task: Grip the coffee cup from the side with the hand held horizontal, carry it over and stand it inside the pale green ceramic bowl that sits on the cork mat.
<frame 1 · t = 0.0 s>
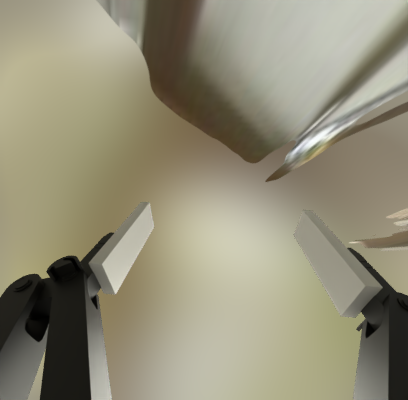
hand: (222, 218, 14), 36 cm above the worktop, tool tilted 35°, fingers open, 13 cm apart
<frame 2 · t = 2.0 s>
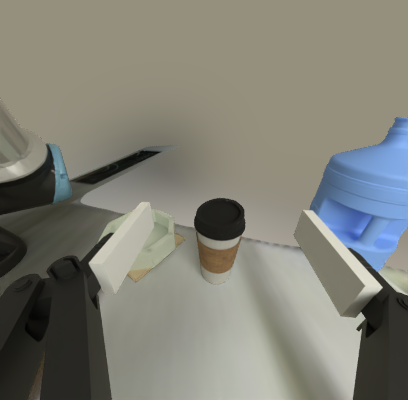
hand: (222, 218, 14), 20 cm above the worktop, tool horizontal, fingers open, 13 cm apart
water jug: (334, 248, 39), on the worktop
bowl: (143, 244, 39), on the worktop
coffee cup: (215, 271, 33), on the worktop
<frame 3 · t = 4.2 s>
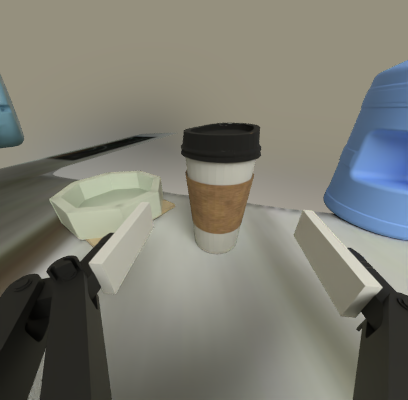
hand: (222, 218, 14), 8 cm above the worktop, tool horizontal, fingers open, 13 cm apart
water jug: (372, 214, 29), on the worktop
bowl: (120, 211, 29), on the worktop
coffee cup: (215, 239, 24), on the worktop
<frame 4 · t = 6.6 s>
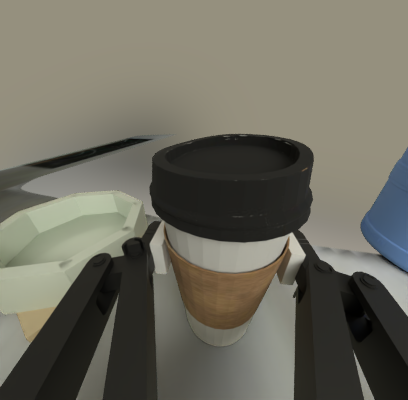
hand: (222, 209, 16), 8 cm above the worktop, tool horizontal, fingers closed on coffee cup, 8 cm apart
bowl: (86, 250, 21), on the worktop
coffee cup: (217, 308, 15), on the worktop, touching gripper
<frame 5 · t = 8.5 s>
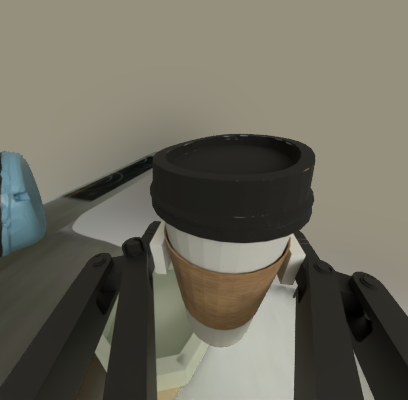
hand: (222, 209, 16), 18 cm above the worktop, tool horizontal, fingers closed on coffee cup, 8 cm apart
bowl: (163, 315, 24), on the worktop
coffee cup: (217, 309, 15), point 10 cm above the worktop, touching gripper
when the fingers open (11 cm above the worktop, at t = 10.7 s): coffee cup drops 2 cm, resting on bowl.
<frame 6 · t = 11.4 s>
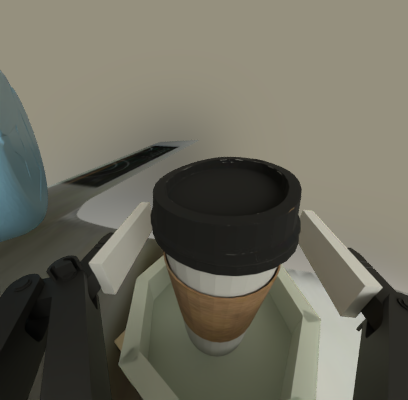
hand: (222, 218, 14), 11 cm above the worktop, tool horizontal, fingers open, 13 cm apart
bowl: (216, 324, 17), on the worktop
coffee cup: (214, 318, 16), point 1 cm above the worktop, touching bowl
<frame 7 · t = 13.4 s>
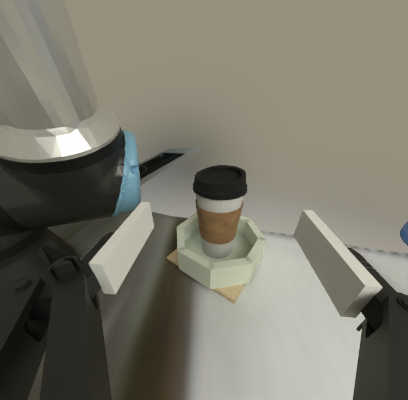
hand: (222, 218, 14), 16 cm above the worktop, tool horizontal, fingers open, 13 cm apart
bowl: (217, 252, 32), on the worktop
coffee cup: (217, 247, 31), point 1 cm above the worktop, touching bowl
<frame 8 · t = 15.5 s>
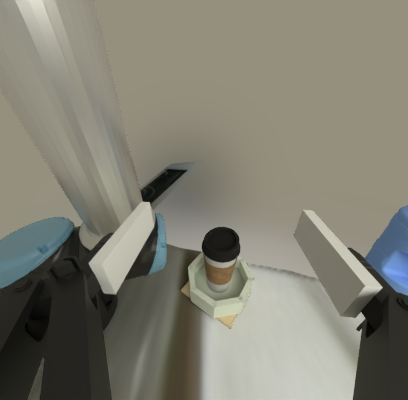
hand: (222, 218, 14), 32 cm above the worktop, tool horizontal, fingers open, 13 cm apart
water jug: (394, 288, 42), on the worktop
bowl: (218, 285, 42), on the worktop
coffee cup: (218, 282, 42), point 1 cm above the worktop, touching bowl
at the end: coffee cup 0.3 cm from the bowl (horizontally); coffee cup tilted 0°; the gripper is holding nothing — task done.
